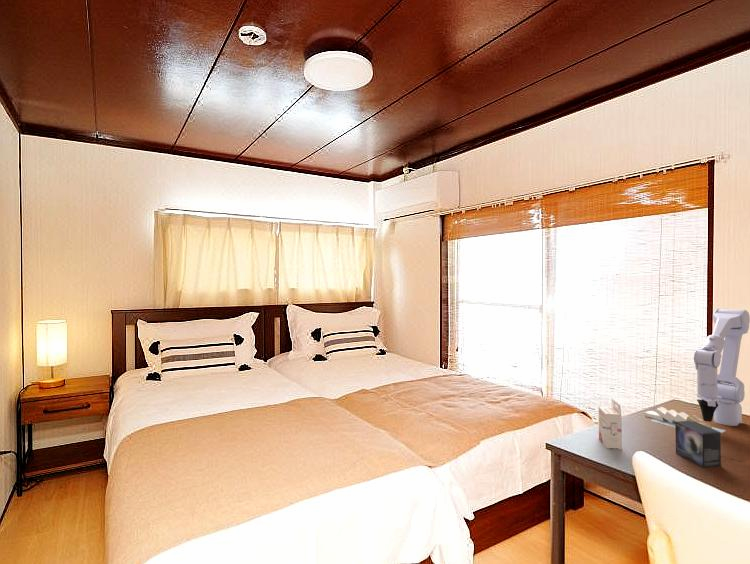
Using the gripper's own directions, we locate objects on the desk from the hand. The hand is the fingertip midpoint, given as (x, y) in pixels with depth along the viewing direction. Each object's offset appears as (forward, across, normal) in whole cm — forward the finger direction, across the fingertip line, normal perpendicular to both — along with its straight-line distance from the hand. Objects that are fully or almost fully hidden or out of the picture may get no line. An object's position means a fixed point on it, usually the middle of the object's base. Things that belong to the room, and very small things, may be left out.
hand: (707, 420), depth 151 cm
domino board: (+4, +3, +6) cm, 8 cm away
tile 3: (+3, +4, +6) cm, 7 cm away
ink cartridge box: (+5, -27, +31) cm, 41 cm away
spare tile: (+3, 0, 0) cm, 3 cm away
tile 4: (+3, +6, +9) cm, 11 cm away
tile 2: (+3, +2, +3) cm, 4 cm away
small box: (+5, -28, +8) cm, 30 cm away
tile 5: (+3, +7, +12) cm, 14 cm away
